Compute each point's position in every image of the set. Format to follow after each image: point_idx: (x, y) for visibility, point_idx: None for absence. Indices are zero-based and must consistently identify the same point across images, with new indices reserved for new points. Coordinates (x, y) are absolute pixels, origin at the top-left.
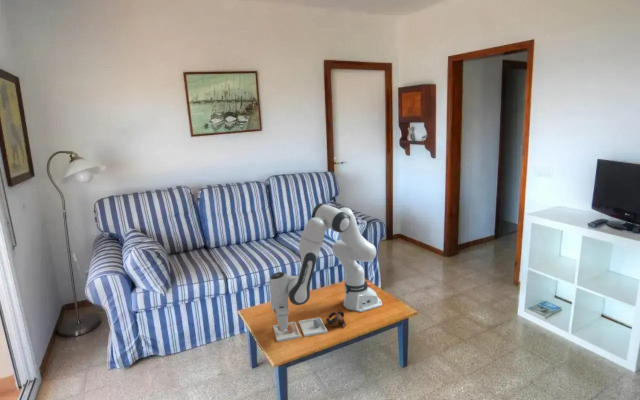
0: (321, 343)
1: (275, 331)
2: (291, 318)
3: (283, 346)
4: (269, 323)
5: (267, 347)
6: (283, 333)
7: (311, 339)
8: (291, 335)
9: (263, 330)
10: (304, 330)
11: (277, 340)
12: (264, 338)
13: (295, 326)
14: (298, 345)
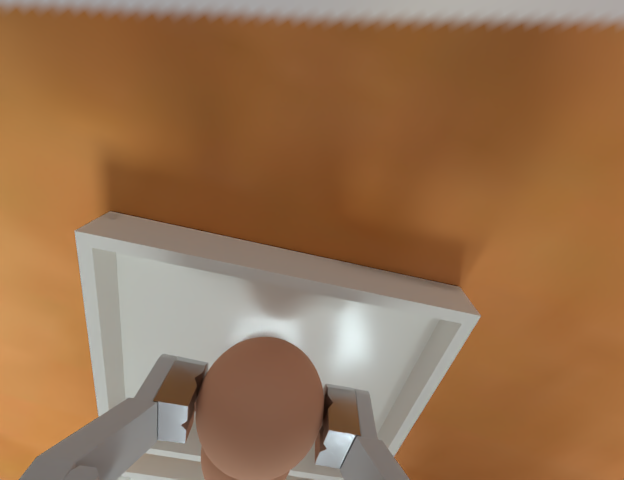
0: (15, 476)
1: (306, 290)
2: (486, 462)
3: (17, 247)
4: (604, 291)
5: (26, 37)
6: None
7: None
8: None
9: (522, 161)
10: None
11: (86, 232)
12: (303, 91)
13: None
14: (12, 364)
